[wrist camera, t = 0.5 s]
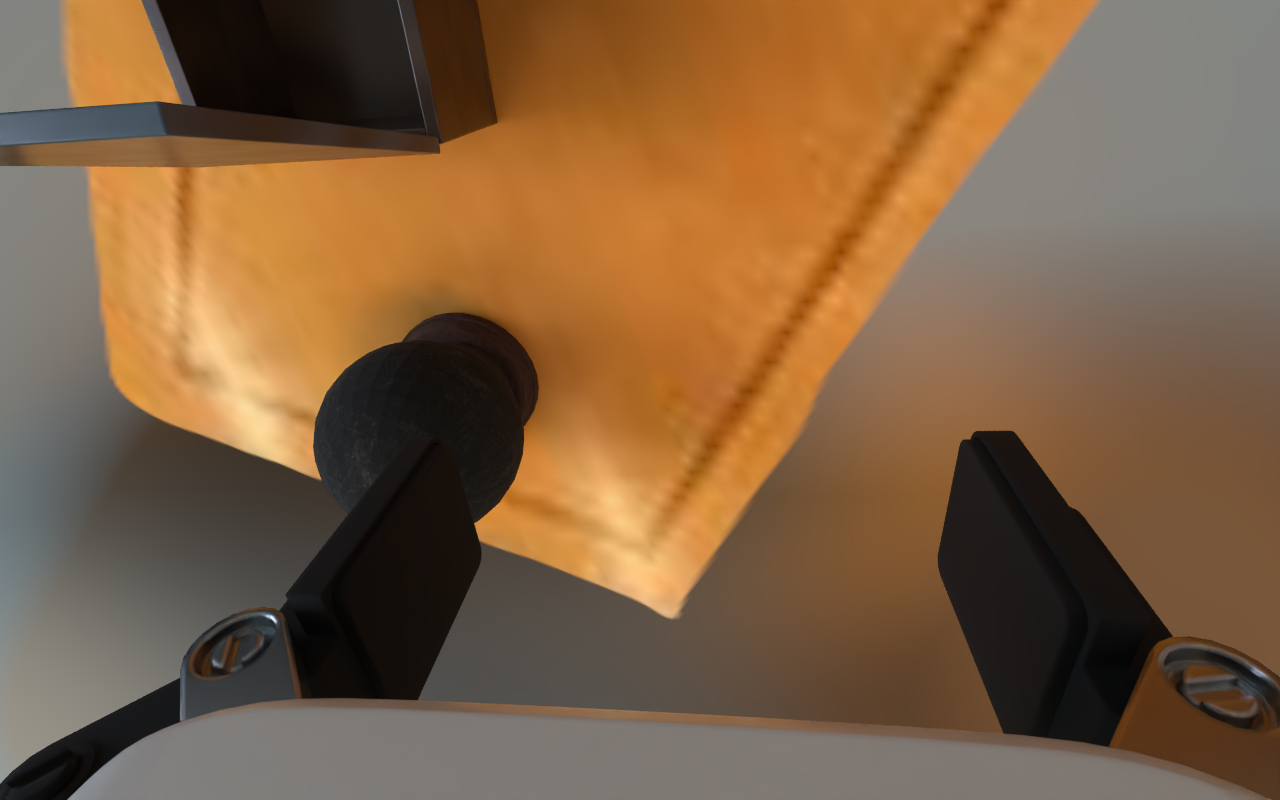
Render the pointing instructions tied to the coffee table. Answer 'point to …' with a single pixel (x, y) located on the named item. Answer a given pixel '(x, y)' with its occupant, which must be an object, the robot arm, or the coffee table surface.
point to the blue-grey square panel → (187, 138)
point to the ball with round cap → (430, 408)
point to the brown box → (332, 61)
